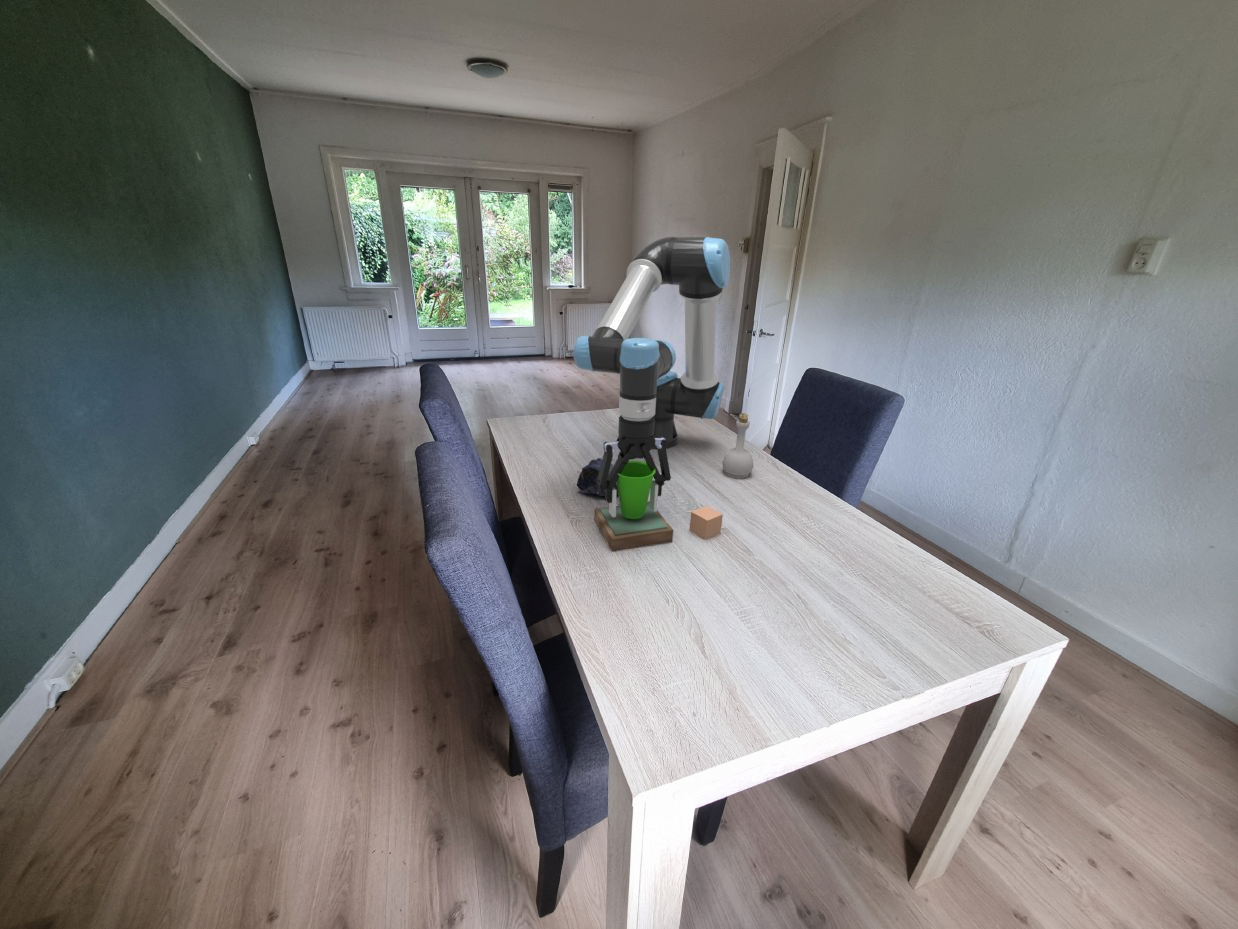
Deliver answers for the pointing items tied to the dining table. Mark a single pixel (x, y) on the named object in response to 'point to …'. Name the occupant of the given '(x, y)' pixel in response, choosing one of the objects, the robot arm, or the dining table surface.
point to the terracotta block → (706, 522)
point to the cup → (634, 488)
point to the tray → (632, 528)
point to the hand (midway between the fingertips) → (632, 511)
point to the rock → (592, 478)
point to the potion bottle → (739, 453)
